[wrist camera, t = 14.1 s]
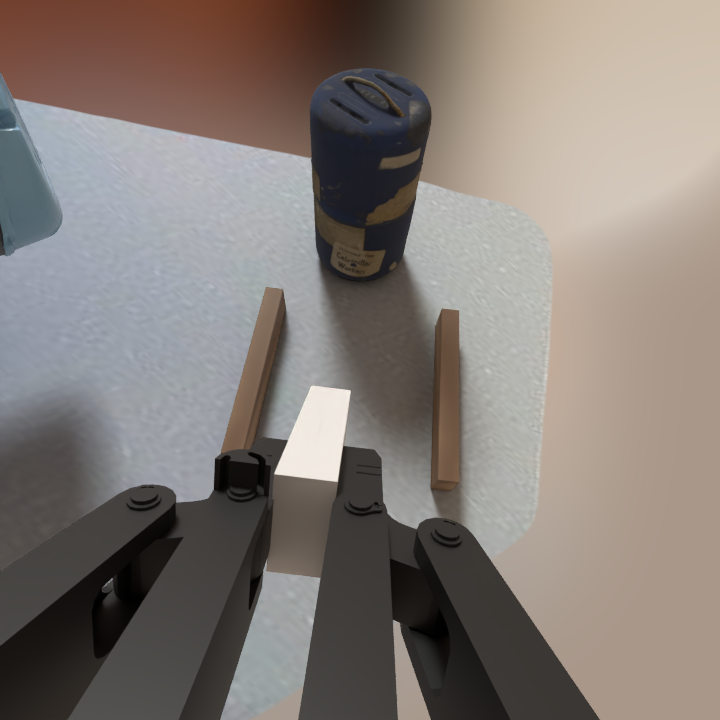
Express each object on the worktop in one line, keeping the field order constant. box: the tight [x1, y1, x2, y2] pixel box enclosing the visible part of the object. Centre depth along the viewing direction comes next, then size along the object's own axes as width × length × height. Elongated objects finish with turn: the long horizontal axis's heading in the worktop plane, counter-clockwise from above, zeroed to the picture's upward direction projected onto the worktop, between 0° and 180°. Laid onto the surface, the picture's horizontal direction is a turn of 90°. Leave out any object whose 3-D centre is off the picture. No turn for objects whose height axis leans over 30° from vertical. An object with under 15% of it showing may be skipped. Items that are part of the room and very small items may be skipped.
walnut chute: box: [221, 287, 459, 491], centre depth 38 cm, size 18×16×3 cm
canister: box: [310, 69, 431, 281], centre depth 40 cm, size 10×10×18 cm
